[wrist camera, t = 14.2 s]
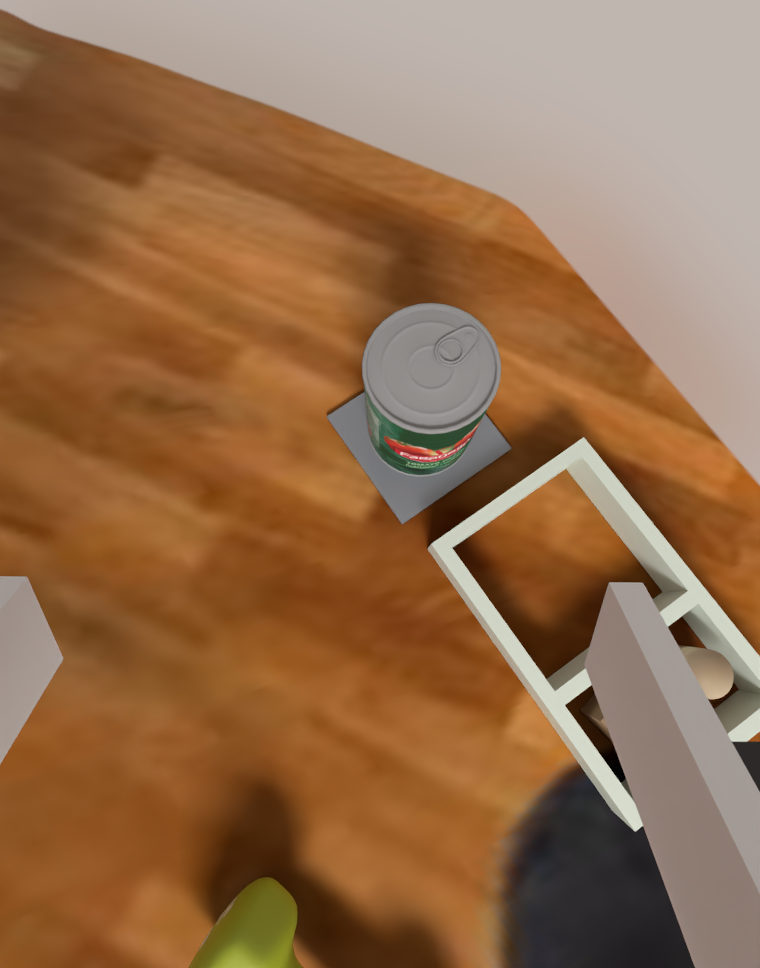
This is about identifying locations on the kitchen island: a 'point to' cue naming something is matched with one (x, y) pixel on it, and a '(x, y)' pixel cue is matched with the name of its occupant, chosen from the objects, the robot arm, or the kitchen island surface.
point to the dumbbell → (253, 930)
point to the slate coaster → (412, 491)
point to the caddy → (680, 597)
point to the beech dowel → (709, 670)
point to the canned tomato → (427, 386)
